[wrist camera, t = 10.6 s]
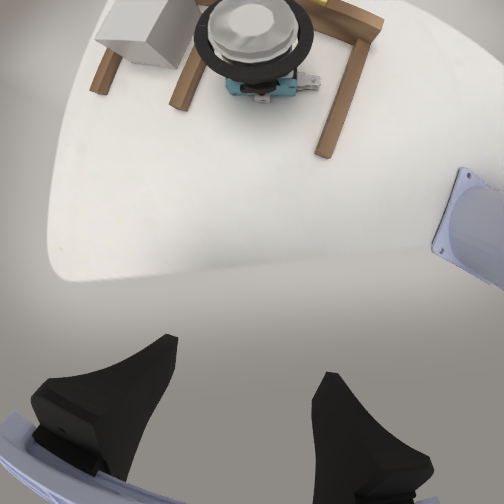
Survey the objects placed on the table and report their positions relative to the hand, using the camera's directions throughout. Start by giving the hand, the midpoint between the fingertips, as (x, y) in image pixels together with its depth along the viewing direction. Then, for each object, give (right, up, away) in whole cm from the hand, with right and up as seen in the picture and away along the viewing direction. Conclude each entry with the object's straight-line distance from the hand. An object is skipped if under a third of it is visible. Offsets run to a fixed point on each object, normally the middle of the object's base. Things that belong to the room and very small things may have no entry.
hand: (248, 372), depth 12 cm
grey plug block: (-7, +23, +5) cm, 25 cm away
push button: (+2, +18, +6) cm, 19 cm away
